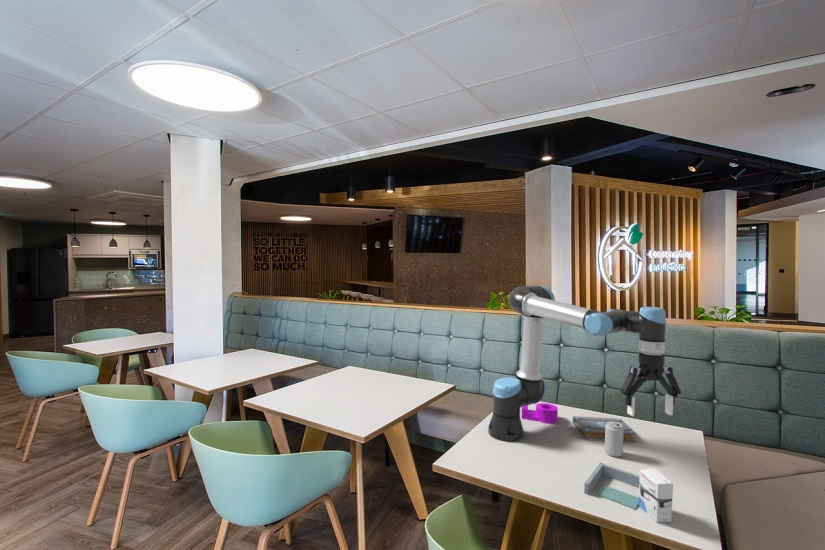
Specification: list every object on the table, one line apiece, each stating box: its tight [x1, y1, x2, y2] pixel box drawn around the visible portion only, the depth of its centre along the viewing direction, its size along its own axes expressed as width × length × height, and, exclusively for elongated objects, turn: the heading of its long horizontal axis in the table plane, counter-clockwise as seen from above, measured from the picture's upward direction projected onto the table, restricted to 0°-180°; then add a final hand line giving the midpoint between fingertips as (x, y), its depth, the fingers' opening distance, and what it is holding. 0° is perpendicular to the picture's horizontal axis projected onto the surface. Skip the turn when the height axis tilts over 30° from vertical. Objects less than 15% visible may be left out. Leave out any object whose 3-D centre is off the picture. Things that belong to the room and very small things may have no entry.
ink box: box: [638, 468, 674, 523], centre depth 118 cm, size 8×5×12 cm, turn 5°
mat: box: [597, 484, 639, 510], centre depth 126 cm, size 11×7×1 cm, turn 49°
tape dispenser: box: [521, 402, 559, 425], centre depth 188 cm, size 16×10×6 cm, turn 68°
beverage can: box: [604, 421, 624, 458], centre depth 154 cm, size 6×6×12 cm
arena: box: [583, 462, 640, 495], centre depth 129 cm, size 16×17×4 cm
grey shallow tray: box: [572, 415, 637, 443], centre depth 173 cm, size 21×16×5 cm
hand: (649, 414), depth 133 cm, fingers open, 13 cm apart
